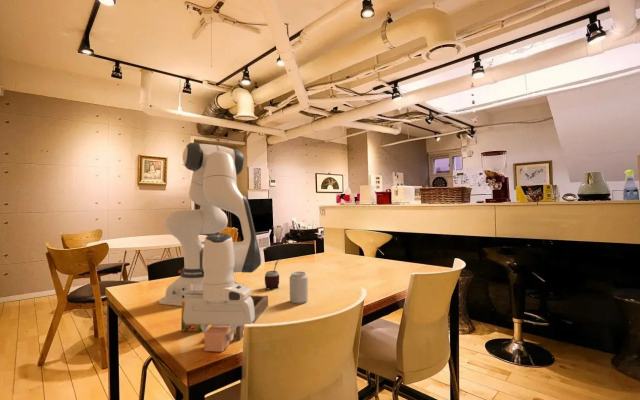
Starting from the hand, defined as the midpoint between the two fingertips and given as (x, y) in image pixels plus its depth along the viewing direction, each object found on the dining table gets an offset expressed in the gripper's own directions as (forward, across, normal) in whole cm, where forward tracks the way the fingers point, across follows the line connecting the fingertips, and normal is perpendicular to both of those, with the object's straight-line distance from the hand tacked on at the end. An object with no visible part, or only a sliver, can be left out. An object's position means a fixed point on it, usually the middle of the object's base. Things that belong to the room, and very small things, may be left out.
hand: (219, 339), depth 86 cm
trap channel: (+2, 0, +20) cm, 20 cm away
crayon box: (+2, -13, +10) cm, 17 cm away
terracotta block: (+2, 0, -1) cm, 2 cm away
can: (+2, +16, +41) cm, 44 cm away
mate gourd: (+2, 0, +60) cm, 60 cm away
